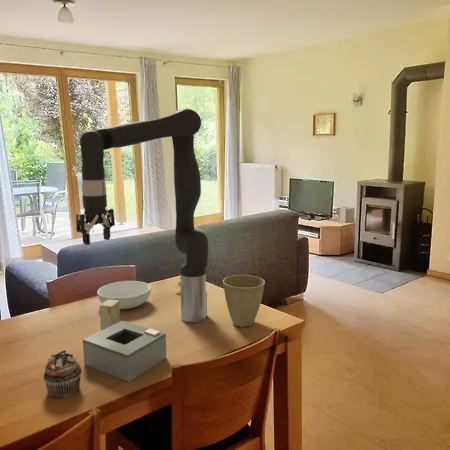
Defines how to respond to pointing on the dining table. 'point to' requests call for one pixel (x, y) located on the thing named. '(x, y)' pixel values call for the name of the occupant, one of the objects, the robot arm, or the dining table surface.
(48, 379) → the cupcake
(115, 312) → the skincare box
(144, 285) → the serving bowl
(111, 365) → the grey square box
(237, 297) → the plant pot
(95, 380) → the dining table surface
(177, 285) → the architectural model
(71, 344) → the dining table surface
